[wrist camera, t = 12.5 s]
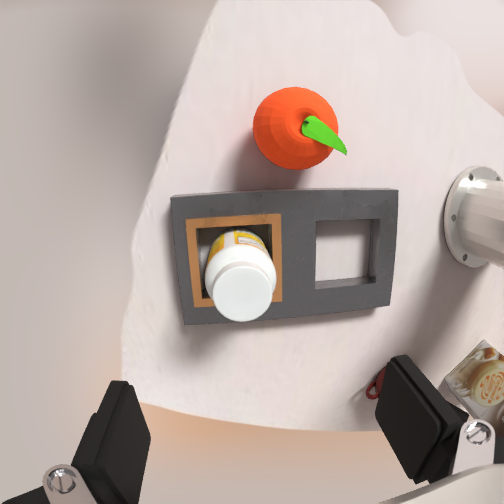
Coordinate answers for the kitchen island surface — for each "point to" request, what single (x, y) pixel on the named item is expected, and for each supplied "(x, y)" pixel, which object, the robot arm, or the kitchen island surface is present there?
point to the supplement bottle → (240, 275)
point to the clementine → (296, 128)
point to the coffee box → (481, 385)
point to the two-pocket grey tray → (289, 247)
